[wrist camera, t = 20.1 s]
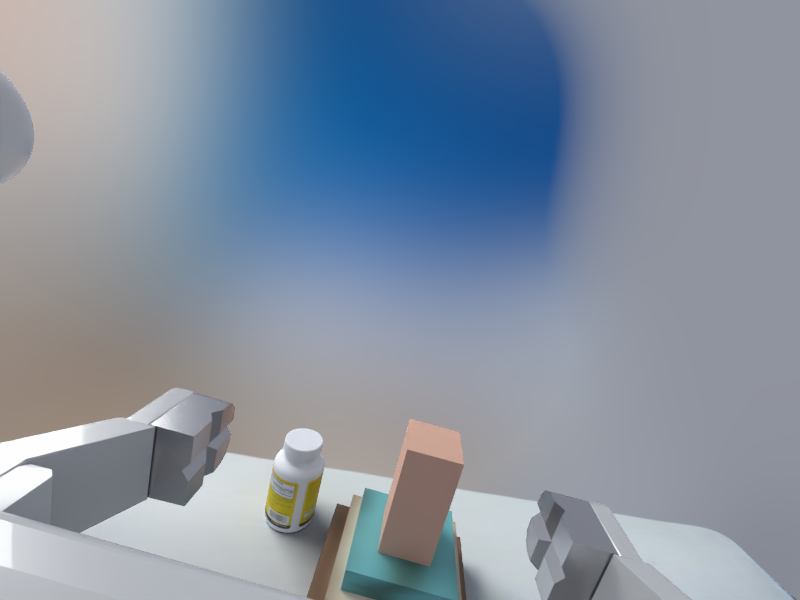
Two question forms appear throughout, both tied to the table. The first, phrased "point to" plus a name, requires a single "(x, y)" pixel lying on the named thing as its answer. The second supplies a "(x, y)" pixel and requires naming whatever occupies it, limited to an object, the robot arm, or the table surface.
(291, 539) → the table surface
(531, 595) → the table surface
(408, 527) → the capstone brick
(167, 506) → the table surface
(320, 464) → the supplement bottle
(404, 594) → the block tower
